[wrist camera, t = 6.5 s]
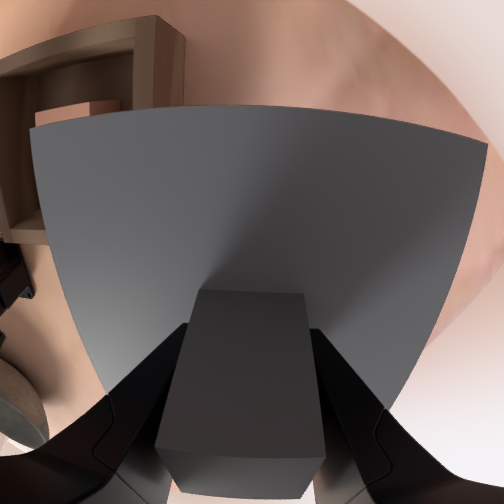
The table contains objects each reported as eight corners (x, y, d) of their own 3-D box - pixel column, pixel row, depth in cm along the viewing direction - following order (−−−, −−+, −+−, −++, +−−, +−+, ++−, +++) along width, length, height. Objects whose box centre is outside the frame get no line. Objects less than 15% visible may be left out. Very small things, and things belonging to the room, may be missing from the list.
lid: (121, 396, 14) (87, 495, 8) (48, 123, 7) (-110, 187, 2) (376, 408, 13) (398, 512, 8) (469, 137, 7) (624, 214, 2)
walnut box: (48, 209, 21) (4, 242, 16) (37, 65, 16) (-16, 67, 10) (184, 210, 21) (160, 250, 16) (185, 36, 16) (156, 14, 10)
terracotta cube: (73, 161, 18) (40, 177, 15) (70, 106, 17) (35, 112, 13) (121, 158, 18) (93, 173, 15) (119, 99, 17) (89, 101, 13)
